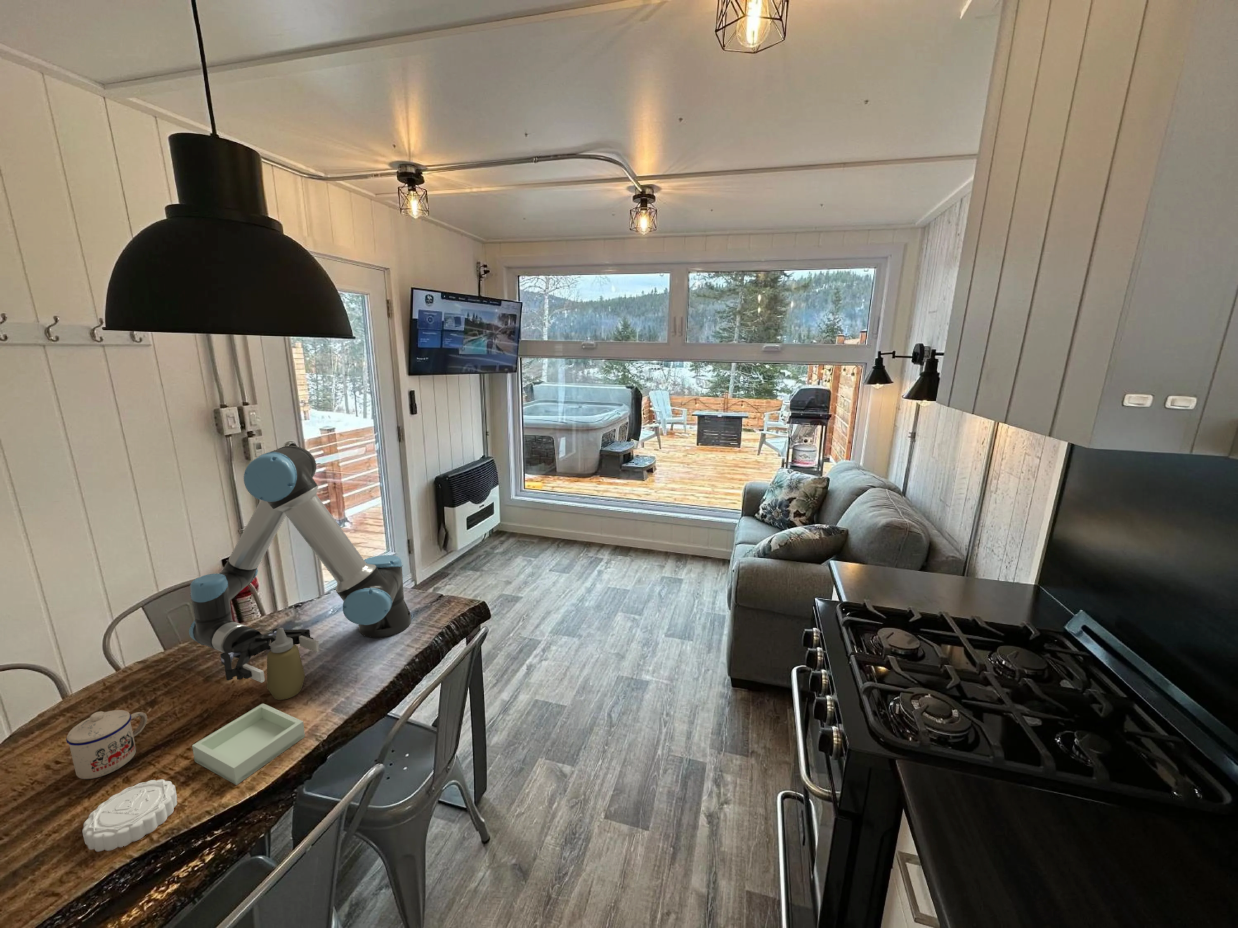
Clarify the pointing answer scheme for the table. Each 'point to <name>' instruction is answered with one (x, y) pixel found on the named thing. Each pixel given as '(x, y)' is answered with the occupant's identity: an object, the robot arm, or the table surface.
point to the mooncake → (129, 815)
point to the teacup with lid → (103, 742)
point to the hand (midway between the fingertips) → (291, 660)
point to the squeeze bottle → (284, 667)
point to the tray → (248, 743)
